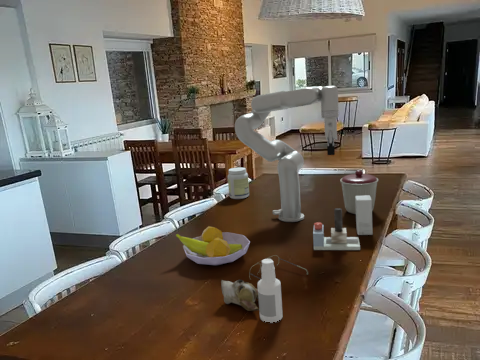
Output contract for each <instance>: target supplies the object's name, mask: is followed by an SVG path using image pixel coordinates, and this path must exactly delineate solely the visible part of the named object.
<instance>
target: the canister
mask: <svg viewBox="0 0 480 360" xmlns="http://www.w3.org/2000/svg"><path fill="white" fill-rule="evenodd" d="M339 180H340V184H341V189H342V195H343V203H344V208H345V210H346V211H347V212H348V213H350V214H352V215H356V204H355V196H364V195H370V197H371V200H372V211H373V210H374V207H375V204H376V203H375V201H376V195H377V194H376V193H377V186H378V182H379V178H378V177H376V176H375V175H373V174H369V173H368V174H367V173H363V171H362V170H361V169H357V170H356V171H355V173H351V174H346V175H344V176H343V177H342V178H340V179H339Z"/></svg>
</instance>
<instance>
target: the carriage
mask: <svg viewBox="0 0 480 360" xmlns="http://www.w3.org/2000/svg"><path fill="white" fill-rule="evenodd" d="M333 210H334V212H333V213H334V215H333V216H334V227H331V228H330V237H331V243H347V237H348V232H347V227H343V209H342V208H340V207H339V208H338V207H337V208H334V209H333Z"/></svg>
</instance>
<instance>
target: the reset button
mask: <svg viewBox="0 0 480 360" xmlns="http://www.w3.org/2000/svg"><path fill="white" fill-rule="evenodd" d="M322 225H323V223H322V222H320V221H318V222H314V223H313V229H316V230H320V229H322Z"/></svg>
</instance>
